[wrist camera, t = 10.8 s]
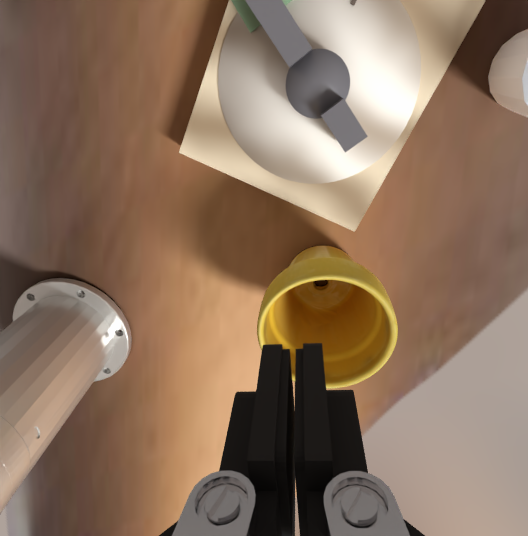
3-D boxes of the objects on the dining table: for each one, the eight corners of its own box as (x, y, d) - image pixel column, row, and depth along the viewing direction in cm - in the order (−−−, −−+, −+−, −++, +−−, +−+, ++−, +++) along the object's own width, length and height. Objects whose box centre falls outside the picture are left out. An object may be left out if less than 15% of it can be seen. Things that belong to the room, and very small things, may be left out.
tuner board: (352, 224, 37) (354, 232, 35) (181, 147, 35) (174, 151, 33) (474, 5, 29) (487, -1, 27) (264, -104, 28) (261, -118, 26)
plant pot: (326, 342, 42) (331, 412, 34) (246, 283, 40) (229, 341, 32) (401, 272, 38) (429, 331, 30) (316, 203, 36) (319, 244, 28)
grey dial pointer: (377, 120, 31) (384, 124, 28) (327, 155, 32) (329, 163, 29) (241, -100, 26) (233, -124, 23) (190, -48, 28) (176, -63, 25)
